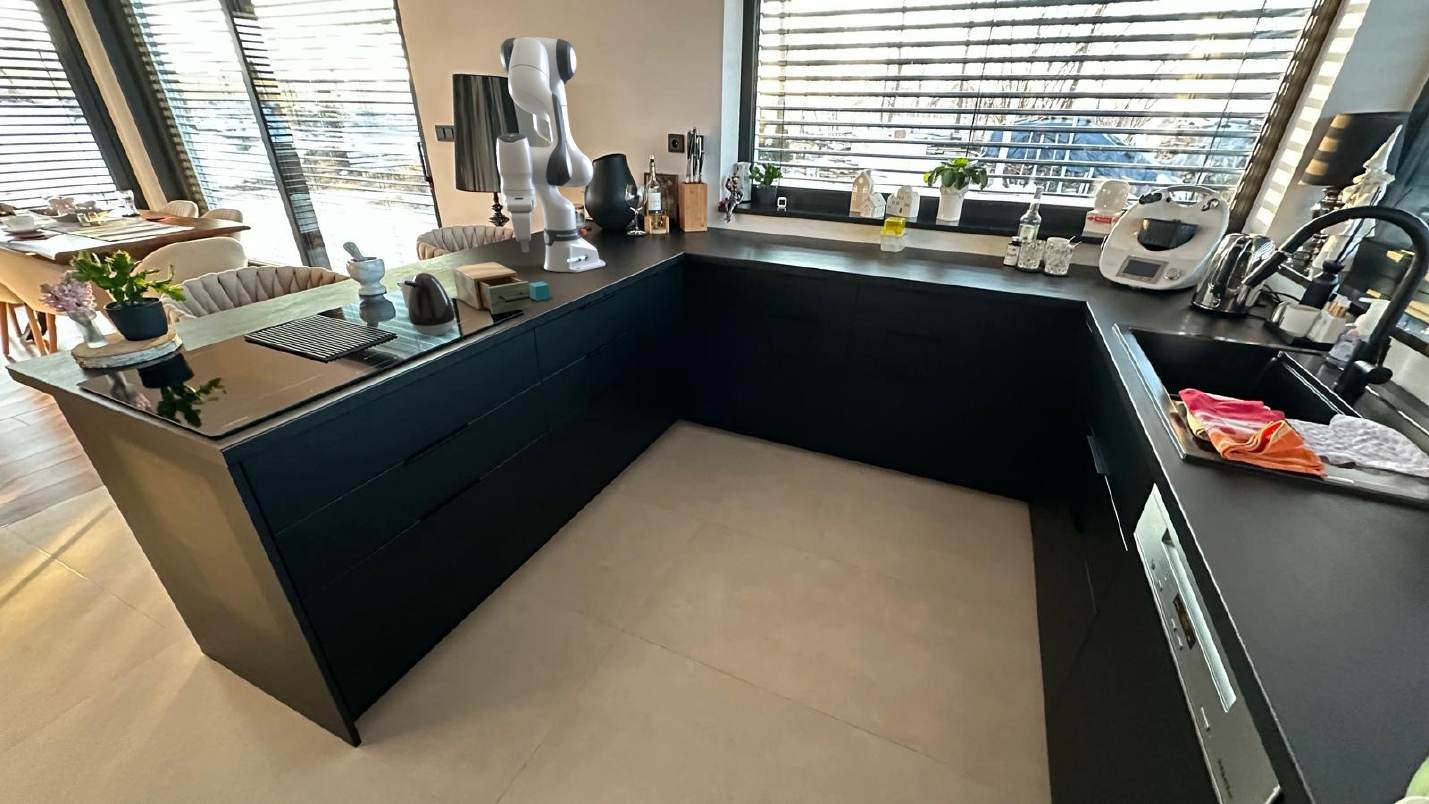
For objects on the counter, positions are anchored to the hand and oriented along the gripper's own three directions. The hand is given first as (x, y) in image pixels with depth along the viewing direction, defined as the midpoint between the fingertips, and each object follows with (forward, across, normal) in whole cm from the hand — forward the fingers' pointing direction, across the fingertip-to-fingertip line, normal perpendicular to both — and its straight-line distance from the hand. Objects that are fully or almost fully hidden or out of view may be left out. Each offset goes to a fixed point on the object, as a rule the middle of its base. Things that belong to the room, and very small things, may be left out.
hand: (525, 251), depth 157 cm
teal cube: (+16, -6, +2) cm, 17 cm away
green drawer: (+15, +4, -7) cm, 17 cm away
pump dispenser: (+15, +20, -24) cm, 35 cm away
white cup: (+16, +6, -28) cm, 33 cm away
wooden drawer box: (+15, -7, -12) cm, 21 cm away
